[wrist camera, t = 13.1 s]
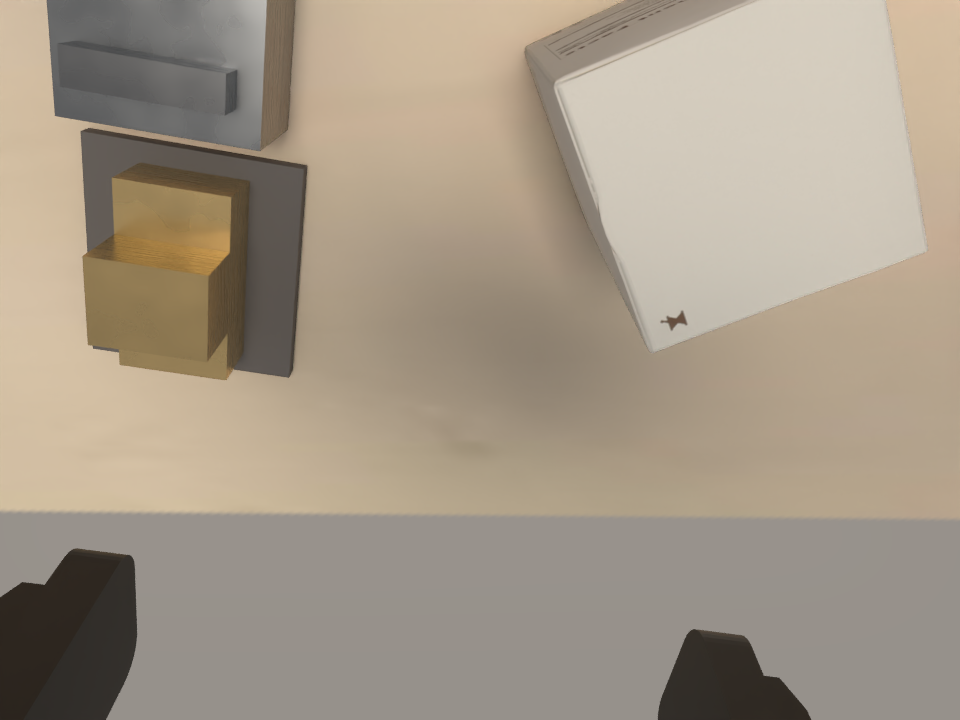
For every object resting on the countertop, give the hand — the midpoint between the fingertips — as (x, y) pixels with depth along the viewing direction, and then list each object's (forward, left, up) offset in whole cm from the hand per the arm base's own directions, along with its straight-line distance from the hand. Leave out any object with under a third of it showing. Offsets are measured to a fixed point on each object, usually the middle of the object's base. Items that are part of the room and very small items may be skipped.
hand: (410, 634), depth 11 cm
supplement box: (-8, -5, -28) cm, 30 cm away
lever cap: (+12, +6, -27) cm, 30 cm away
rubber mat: (+12, +6, -28) cm, 31 cm away
